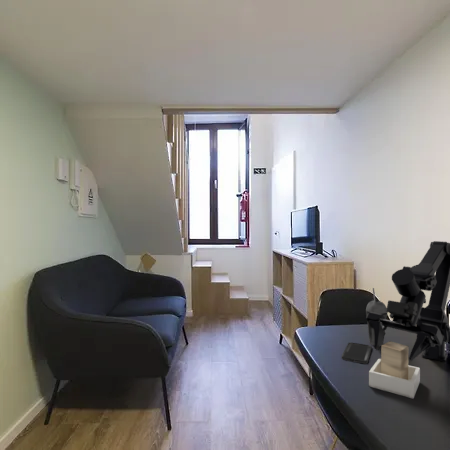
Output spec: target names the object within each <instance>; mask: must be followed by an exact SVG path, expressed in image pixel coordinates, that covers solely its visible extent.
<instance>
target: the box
mask: <svg viewBox="0 0 450 450" xmlns="http://www.w3.org/2000/svg"><path fill="white" fill-rule="evenodd" d="M420 383H421V367H417V366H413V365H409V364H408V380H406V379H402V378H398V377H394V376H390V375H386V374H382V373H381V358H378V359H377V360H376V361H375V363H374V364H373V365H372V367H371V368H370V370H369V371H368V387H369V388H370V387H371V388H374V389H377V390H381V391H384V392H388V393H392V394H396V395H398V396H403V397H406V398H410V399H413V400H414V398H415V396H416V393H417V391H418V388H419V386H420Z"/></svg>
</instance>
